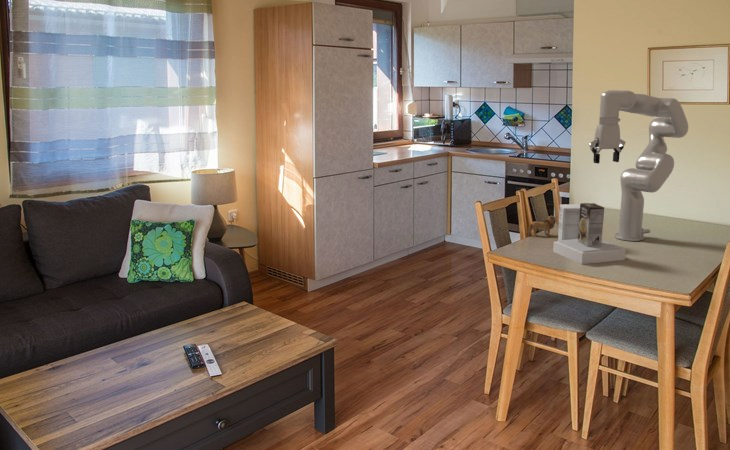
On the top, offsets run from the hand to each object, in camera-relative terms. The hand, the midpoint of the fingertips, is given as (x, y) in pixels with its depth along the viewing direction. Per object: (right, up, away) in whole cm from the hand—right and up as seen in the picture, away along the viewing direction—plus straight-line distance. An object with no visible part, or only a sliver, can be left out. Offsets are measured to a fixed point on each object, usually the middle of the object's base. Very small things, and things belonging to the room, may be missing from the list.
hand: (606, 162), depth 281 cm
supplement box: (-12, -35, +11) cm, 38 cm away
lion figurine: (-21, -32, +26) cm, 46 cm away
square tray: (-11, -39, -10) cm, 42 cm away
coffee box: (-11, -34, -10) cm, 38 cm away
